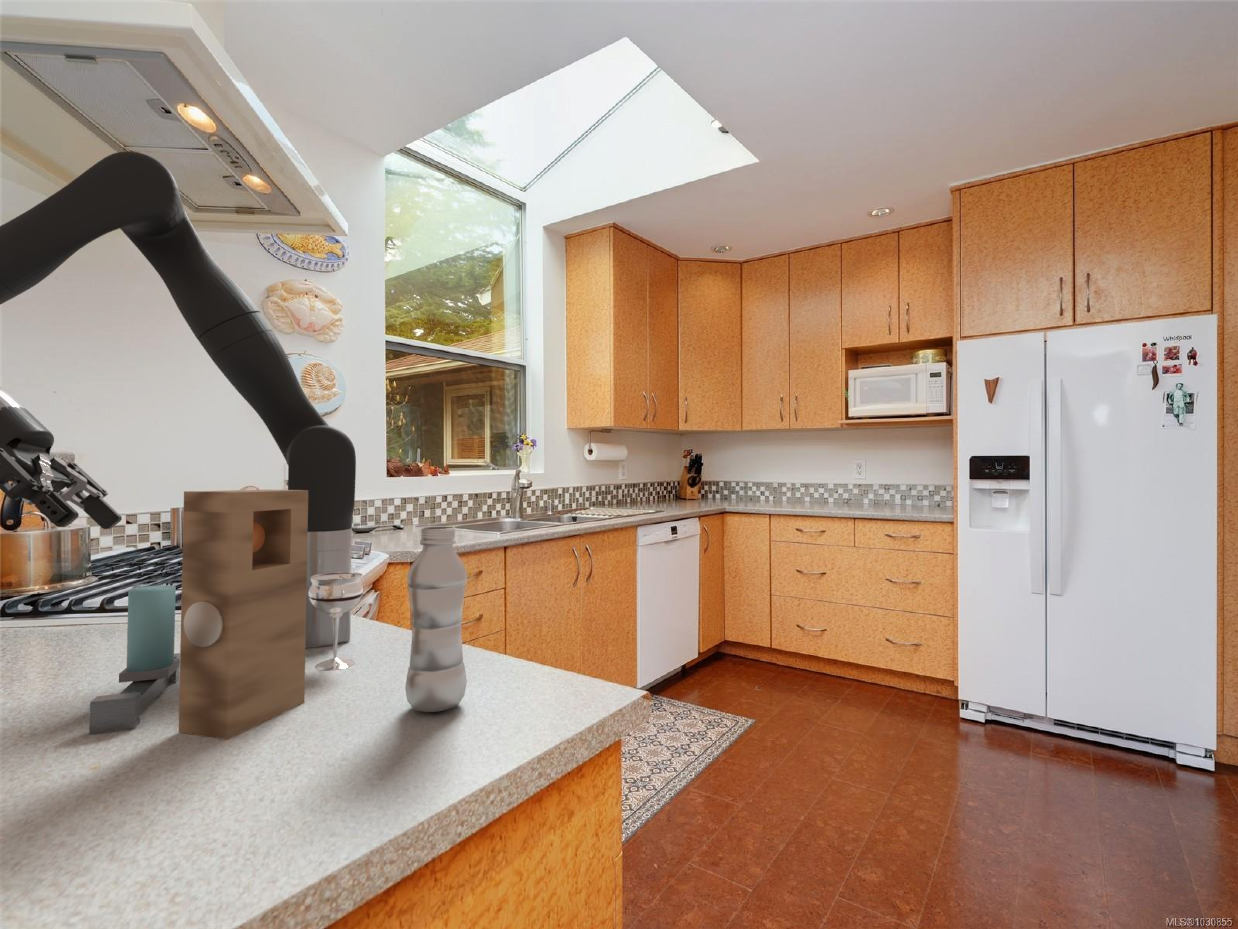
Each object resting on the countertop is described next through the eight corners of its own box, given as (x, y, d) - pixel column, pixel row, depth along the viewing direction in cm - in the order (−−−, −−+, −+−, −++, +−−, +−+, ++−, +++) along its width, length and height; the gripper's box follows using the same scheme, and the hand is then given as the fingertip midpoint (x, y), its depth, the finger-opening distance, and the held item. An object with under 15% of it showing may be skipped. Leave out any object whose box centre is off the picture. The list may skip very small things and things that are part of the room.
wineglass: (334, 654, 86) (336, 570, 87) (372, 660, 84) (374, 573, 84) (295, 669, 80) (296, 578, 80) (335, 675, 78) (336, 581, 78)
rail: (179, 678, 76) (180, 653, 76) (134, 729, 61) (135, 697, 61) (144, 682, 74) (144, 656, 74) (89, 734, 59) (90, 702, 60)
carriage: (179, 666, 74) (181, 584, 74) (168, 677, 70) (170, 590, 70) (133, 670, 72) (135, 586, 72) (118, 682, 68) (120, 593, 68)
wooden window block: (174, 734, 60) (180, 491, 60) (260, 697, 70) (264, 489, 70) (223, 741, 58) (229, 492, 59) (304, 702, 68) (308, 490, 69)
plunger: (186, 552, 65) (187, 522, 65) (213, 548, 68) (213, 519, 68) (239, 554, 63) (240, 523, 63) (264, 551, 66) (265, 521, 66)
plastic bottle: (477, 701, 69) (480, 526, 70) (442, 724, 63) (445, 531, 63) (430, 694, 71) (433, 524, 72) (391, 715, 65) (394, 529, 65)
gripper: (-29, 390, 66) (84, 497, 67) (59, 417, 79) (152, 505, 80) (-96, 437, 64) (21, 546, 65) (6, 456, 77) (101, 545, 78)
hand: (93, 523), depth 73 cm, fingers open, 8 cm apart
